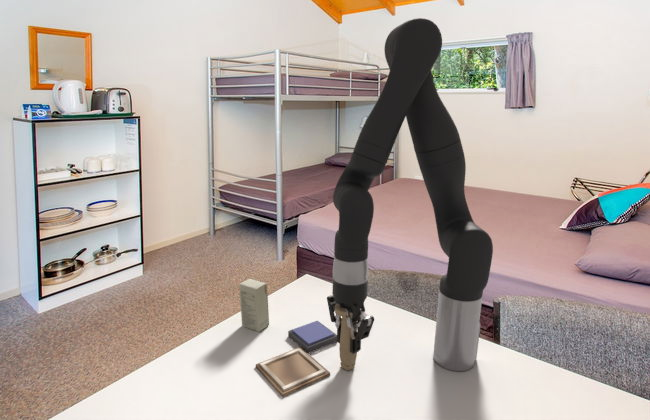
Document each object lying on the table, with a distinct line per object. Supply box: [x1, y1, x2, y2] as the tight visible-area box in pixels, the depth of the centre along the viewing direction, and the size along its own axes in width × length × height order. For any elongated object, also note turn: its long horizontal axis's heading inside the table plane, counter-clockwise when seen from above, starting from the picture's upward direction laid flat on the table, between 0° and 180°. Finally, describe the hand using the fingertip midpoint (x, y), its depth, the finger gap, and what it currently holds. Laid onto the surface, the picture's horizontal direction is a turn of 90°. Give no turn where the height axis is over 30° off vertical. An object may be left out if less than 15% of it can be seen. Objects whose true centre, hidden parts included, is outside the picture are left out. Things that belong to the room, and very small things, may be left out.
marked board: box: [255, 346, 331, 397], centre depth 95 cm, size 12×12×1 cm
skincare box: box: [238, 278, 270, 333], centre depth 112 cm, size 6×4×12 cm
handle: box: [334, 303, 360, 372], centre depth 95 cm, size 5×6×15 cm
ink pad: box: [287, 320, 338, 354], centre depth 107 cm, size 9×9×2 cm
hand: (348, 346), depth 95 cm, fingers closed on handle, 4 cm apart
